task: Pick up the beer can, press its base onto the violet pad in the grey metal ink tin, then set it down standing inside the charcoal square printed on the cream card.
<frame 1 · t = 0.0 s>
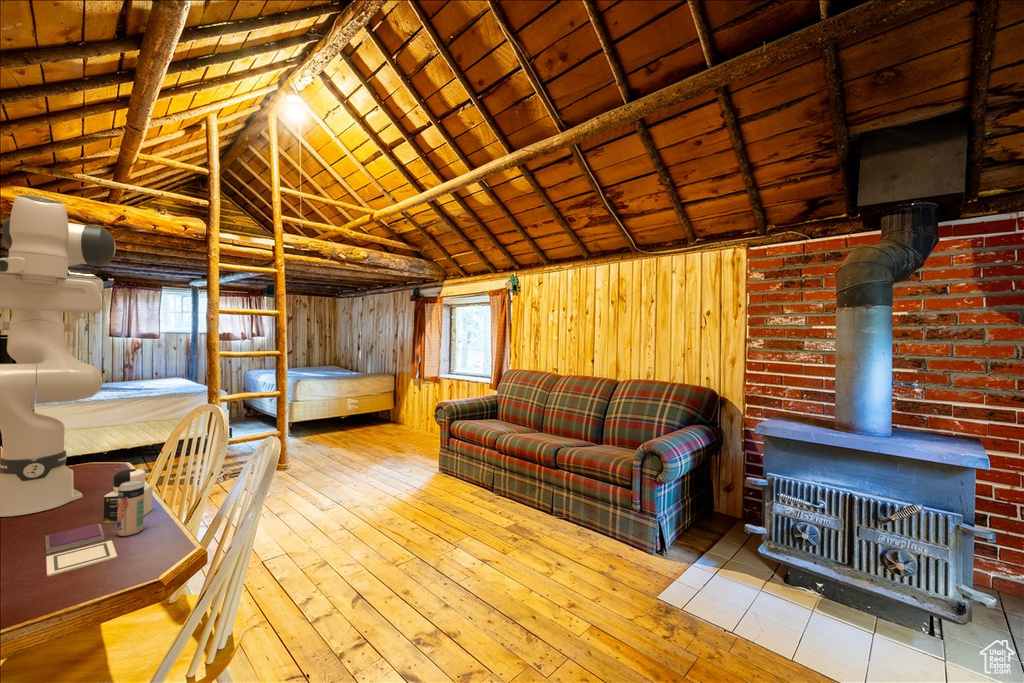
hand: (37, 330, 93), 48 cm above the table, fingers open, 8 cm apart
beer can: (130, 533, 100), on the table
medicine bottle: (128, 517, 109), on the table
ink pad: (75, 540, 96), on the table
marked card: (81, 558, 89), on the table
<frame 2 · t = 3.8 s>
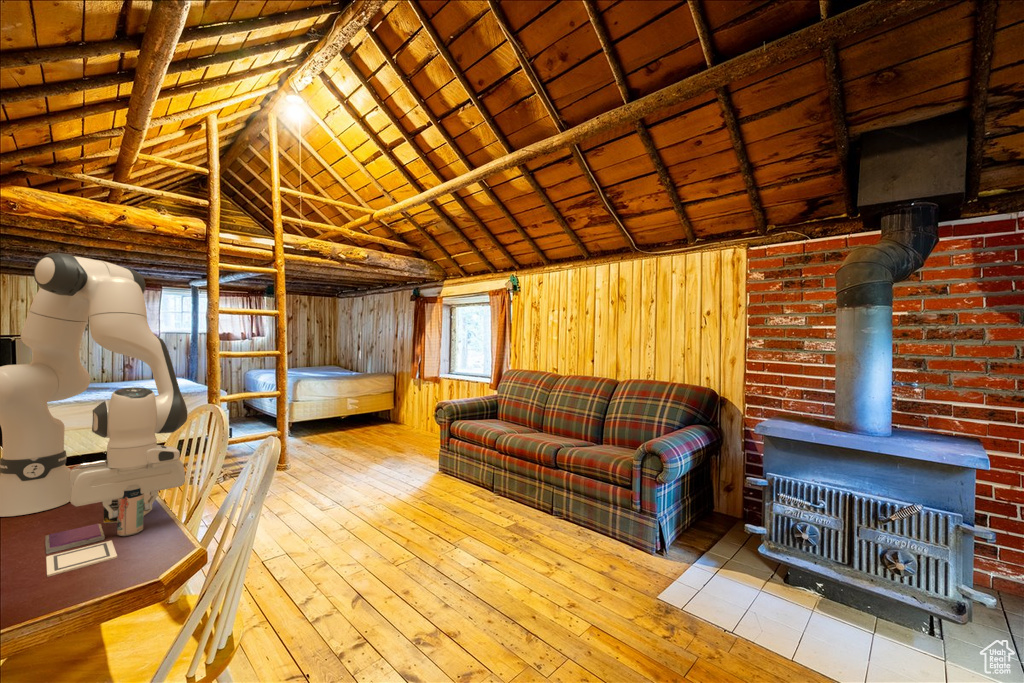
hand: (130, 513, 100), 5 cm above the table, fingers closed on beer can, 5 cm apart
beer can: (130, 533, 100), on the table, touching gripper
everything else where it was.
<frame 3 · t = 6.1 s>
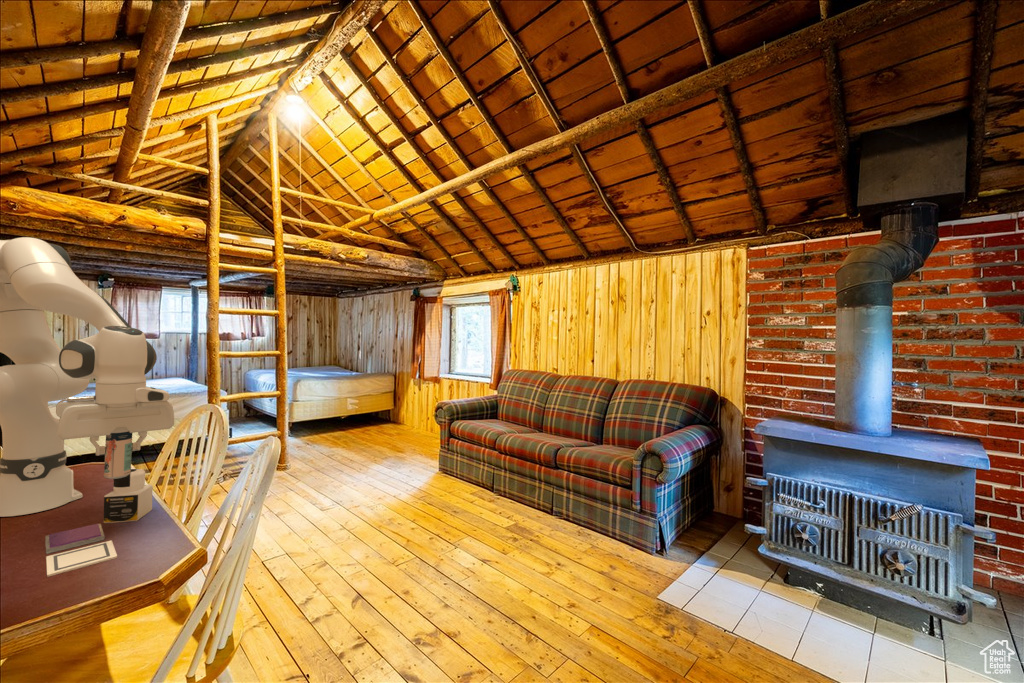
hand: (118, 452, 99), 19 cm above the table, fingers closed on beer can, 5 cm apart
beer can: (117, 477, 99), point 14 cm above the table, touching gripper
everything else where it was.
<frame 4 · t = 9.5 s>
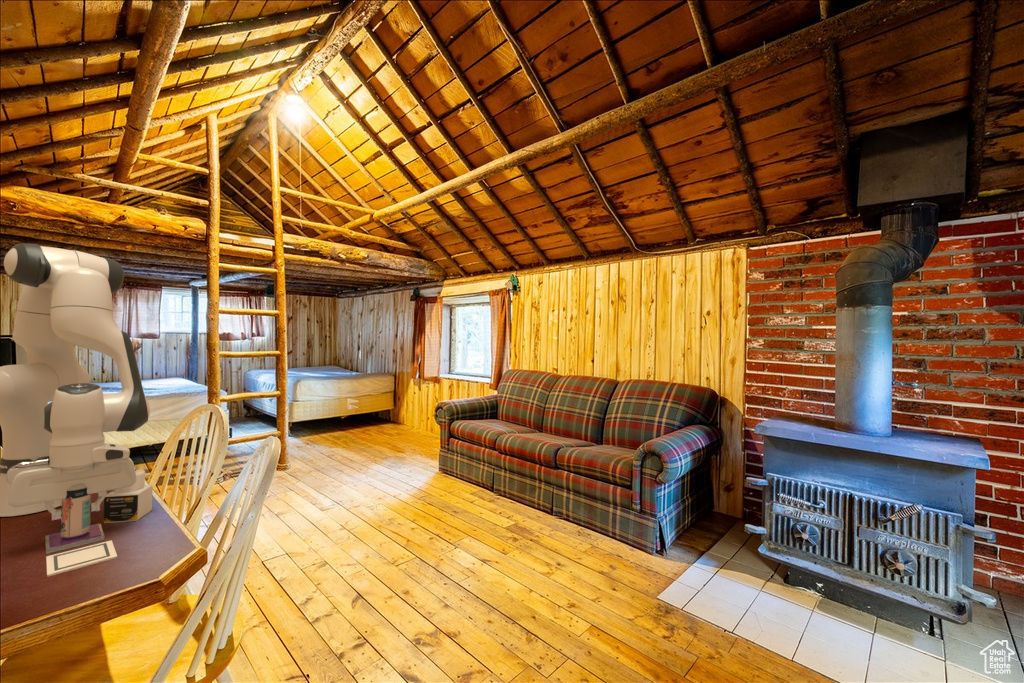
hand: (76, 514, 96), 6 cm above the table, fingers closed on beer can, 5 cm apart
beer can: (75, 535, 96), point 1 cm above the table, touching gripper, ink pad
everything else where it was.
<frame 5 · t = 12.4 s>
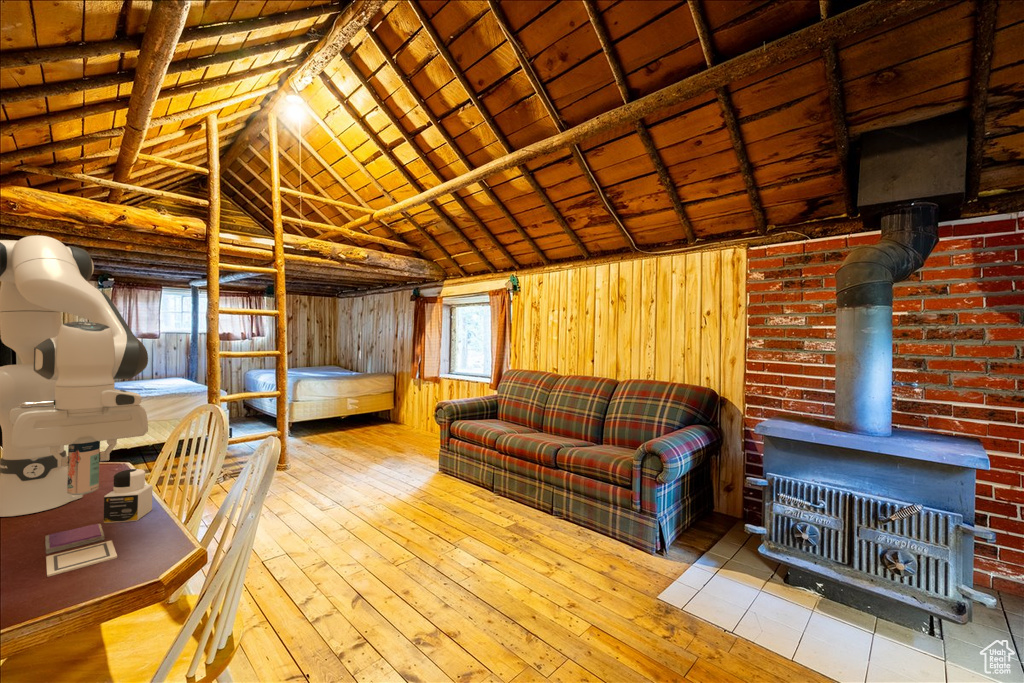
hand: (84, 463, 89), 20 cm above the table, fingers closed on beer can, 5 cm apart
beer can: (83, 493, 88), point 14 cm above the table, touching gripper
everything else where it was.
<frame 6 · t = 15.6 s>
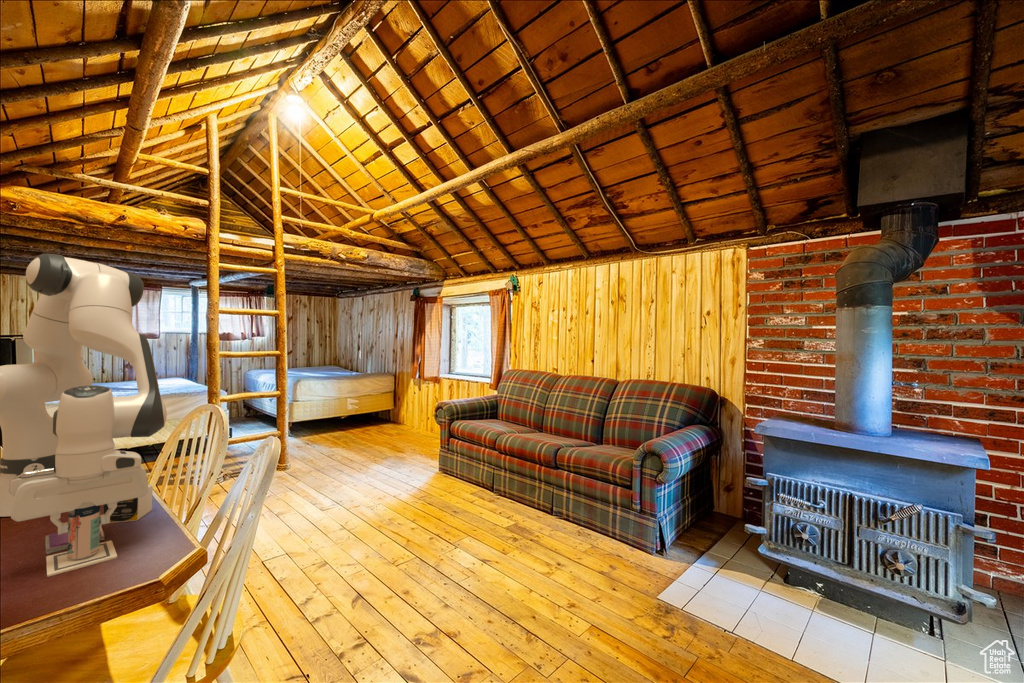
hand: (84, 528, 89), 6 cm above the table, fingers closed on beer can, 5 cm apart
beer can: (83, 556, 89), resting on marked card, touching gripper
everything else where it was.
when the fingers open (6 cm above the table, at t = 16.1 s): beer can stays where it is, resting on marked card.
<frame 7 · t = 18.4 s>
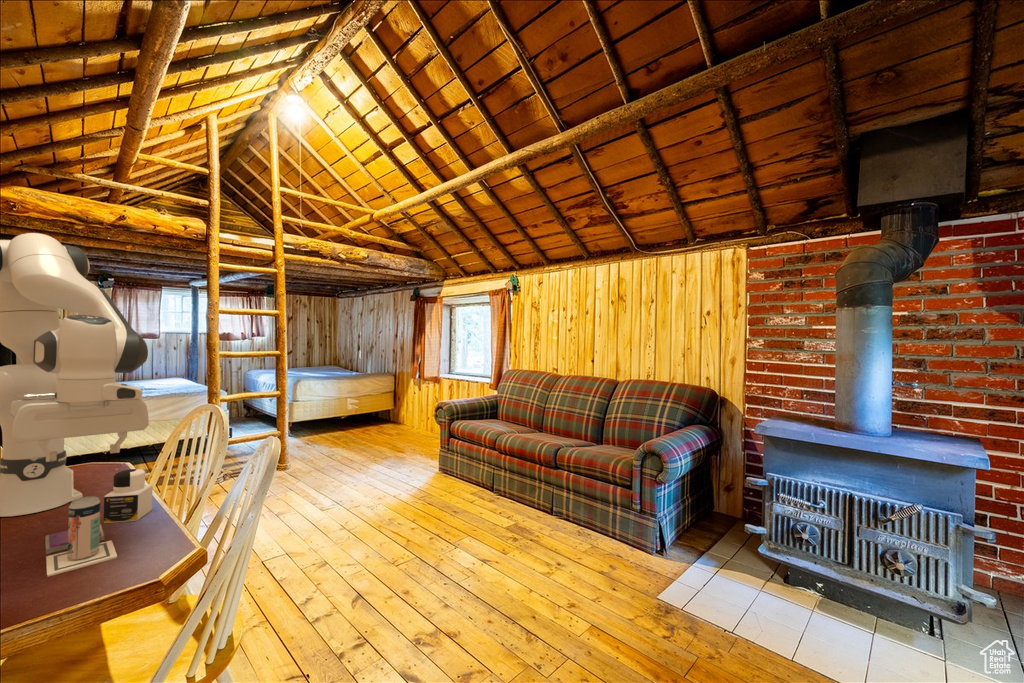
hand: (84, 456, 89), 22 cm above the table, fingers open, 8 cm apart
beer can: (83, 556, 89), resting on marked card
everything else where it was.
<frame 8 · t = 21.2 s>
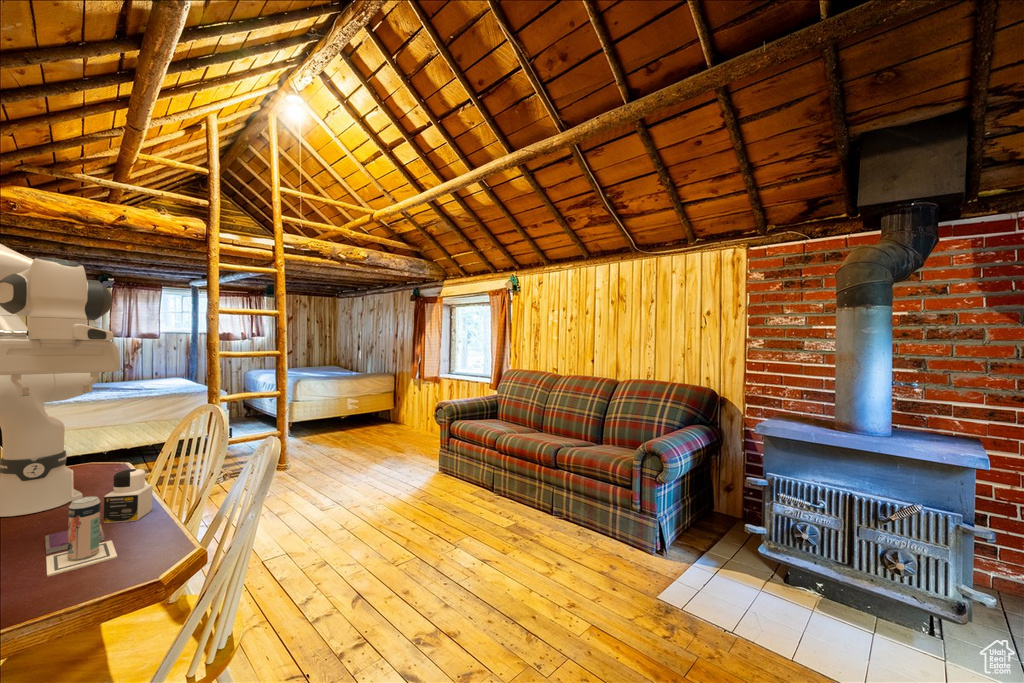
hand: (56, 394, 92), 34 cm above the table, fingers open, 8 cm apart
nothing on the table moved.
at the end: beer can 0.2 cm off-centre on the marked card, point 0.2 cm above the marked card's base; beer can tilted 0°; the gripper is holding nothing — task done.
